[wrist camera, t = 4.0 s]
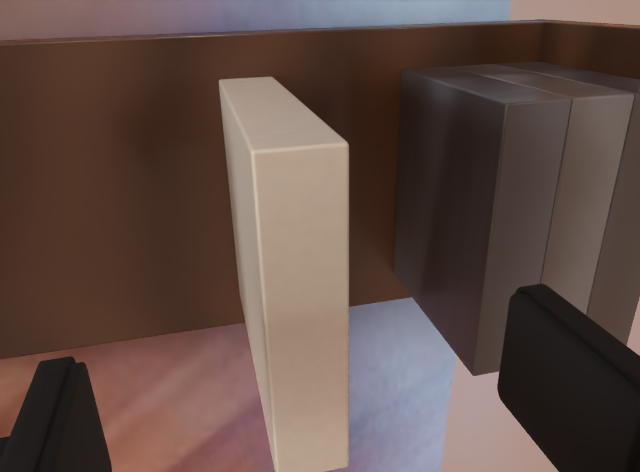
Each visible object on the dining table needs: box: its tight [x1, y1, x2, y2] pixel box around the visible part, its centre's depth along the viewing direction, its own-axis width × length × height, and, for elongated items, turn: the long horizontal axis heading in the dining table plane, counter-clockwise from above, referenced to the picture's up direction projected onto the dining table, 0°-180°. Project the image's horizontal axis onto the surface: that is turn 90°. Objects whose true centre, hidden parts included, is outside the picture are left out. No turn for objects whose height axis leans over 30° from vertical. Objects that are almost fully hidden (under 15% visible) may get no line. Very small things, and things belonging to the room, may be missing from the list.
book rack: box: [0, 20, 640, 376], centre depth 18 cm, size 32×12×9 cm, turn 91°
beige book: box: [219, 77, 349, 472], centre depth 17 cm, size 2×9×10 cm, turn 1°
